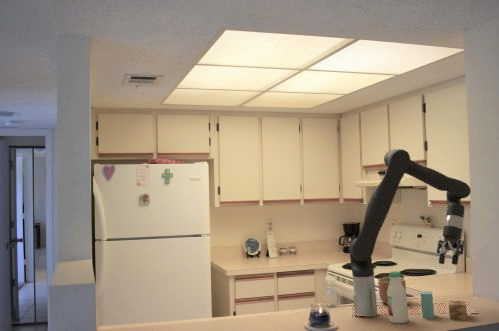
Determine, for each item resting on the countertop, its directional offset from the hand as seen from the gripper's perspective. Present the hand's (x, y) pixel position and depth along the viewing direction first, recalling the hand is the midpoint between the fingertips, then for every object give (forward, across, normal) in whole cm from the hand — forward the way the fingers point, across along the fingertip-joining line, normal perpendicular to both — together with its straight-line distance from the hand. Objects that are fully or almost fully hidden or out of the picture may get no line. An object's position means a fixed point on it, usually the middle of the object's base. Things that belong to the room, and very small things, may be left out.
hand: (447, 264), depth 210 cm
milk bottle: (+28, -3, -17) cm, 33 cm away
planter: (+21, -28, -5) cm, 35 cm away
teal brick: (+23, -2, -4) cm, 24 cm away
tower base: (+21, +5, +5) cm, 22 cm away
